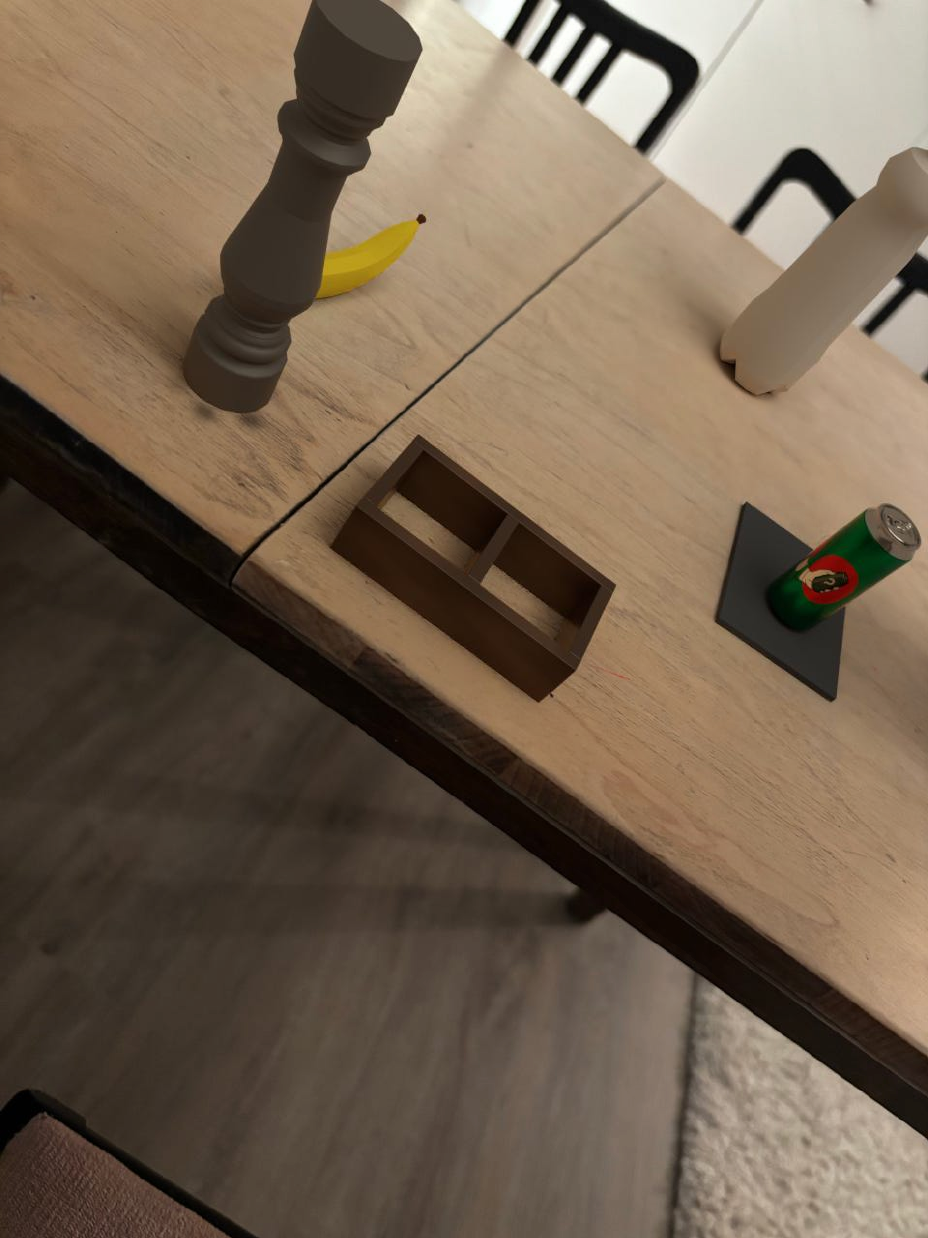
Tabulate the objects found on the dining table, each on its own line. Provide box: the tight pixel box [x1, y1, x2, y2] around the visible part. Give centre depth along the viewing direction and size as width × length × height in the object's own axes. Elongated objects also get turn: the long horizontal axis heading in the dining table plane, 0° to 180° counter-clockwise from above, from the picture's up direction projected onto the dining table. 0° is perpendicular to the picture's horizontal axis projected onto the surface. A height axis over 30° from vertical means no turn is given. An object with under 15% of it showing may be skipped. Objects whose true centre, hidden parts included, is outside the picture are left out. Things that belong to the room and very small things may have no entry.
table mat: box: [715, 501, 846, 703], centre depth 81 cm, size 16×12×1 cm
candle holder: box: [182, 0, 424, 414], centre depth 55 cm, size 6×6×25 cm
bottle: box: [719, 146, 928, 396], centre depth 89 cm, size 9×9×30 cm
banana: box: [315, 213, 427, 299], centre depth 71 cm, size 3×19×6 cm, turn 134°
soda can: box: [768, 502, 922, 631], centre depth 76 cm, size 5×5×12 cm
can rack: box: [329, 433, 617, 703], centre depth 63 cm, size 17×9×4 cm, turn 64°
